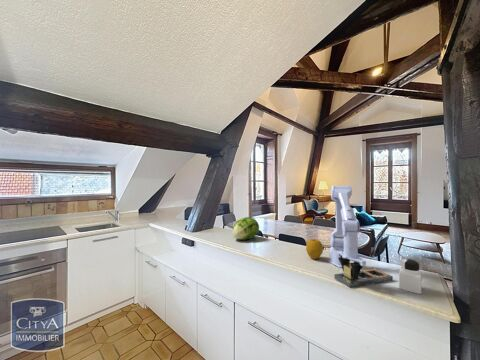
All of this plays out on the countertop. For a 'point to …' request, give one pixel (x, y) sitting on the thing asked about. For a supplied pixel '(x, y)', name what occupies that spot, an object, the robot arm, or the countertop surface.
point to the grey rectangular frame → (368, 280)
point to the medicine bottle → (410, 276)
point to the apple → (314, 248)
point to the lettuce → (245, 228)
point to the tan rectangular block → (348, 272)
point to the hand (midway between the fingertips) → (350, 275)
